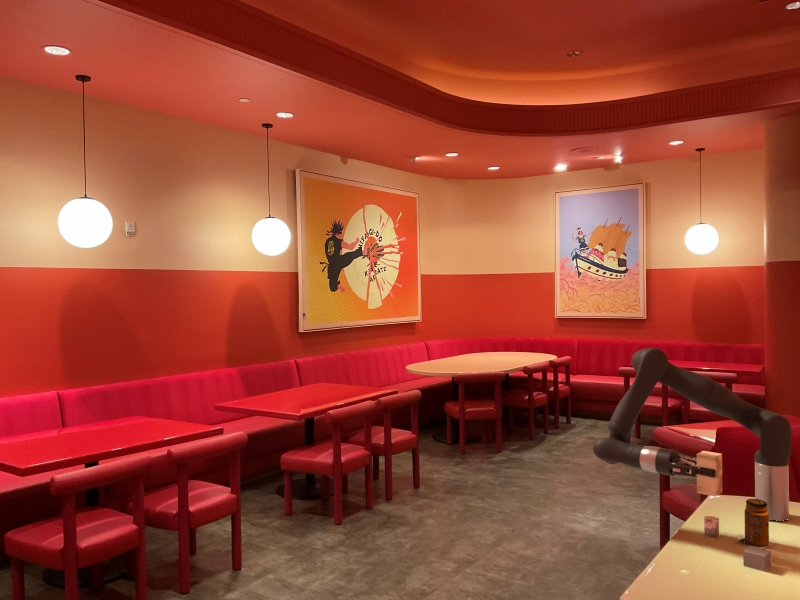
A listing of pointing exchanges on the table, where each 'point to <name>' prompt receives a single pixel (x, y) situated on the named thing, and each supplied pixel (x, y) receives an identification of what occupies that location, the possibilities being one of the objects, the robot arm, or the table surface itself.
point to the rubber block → (757, 558)
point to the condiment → (756, 525)
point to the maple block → (709, 483)
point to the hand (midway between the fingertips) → (719, 471)
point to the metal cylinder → (711, 526)
